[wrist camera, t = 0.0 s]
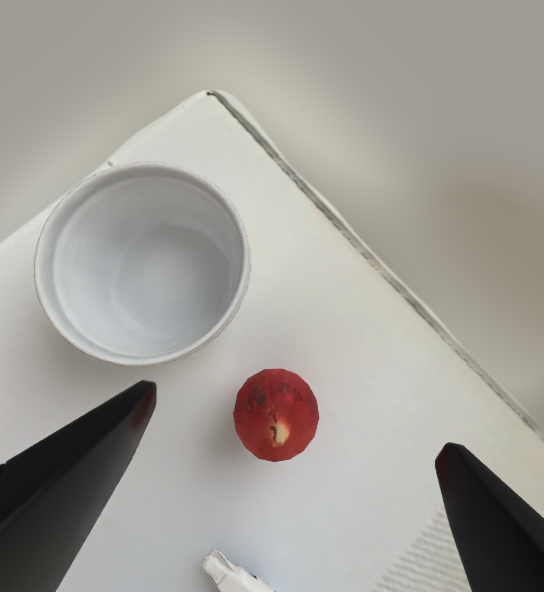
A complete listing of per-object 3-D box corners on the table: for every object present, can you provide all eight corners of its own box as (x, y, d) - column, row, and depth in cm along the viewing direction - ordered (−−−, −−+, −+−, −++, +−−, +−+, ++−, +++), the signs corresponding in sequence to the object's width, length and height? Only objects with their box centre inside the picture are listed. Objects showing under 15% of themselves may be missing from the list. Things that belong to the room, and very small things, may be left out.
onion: (226, 385, 23) (206, 412, 15) (286, 350, 23) (298, 358, 16) (260, 451, 22) (258, 514, 14) (321, 413, 23) (352, 455, 15)
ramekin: (227, 189, 25) (213, 135, 18) (274, 327, 24) (279, 324, 17) (82, 233, 24) (11, 193, 17) (121, 380, 23) (60, 400, 16)
